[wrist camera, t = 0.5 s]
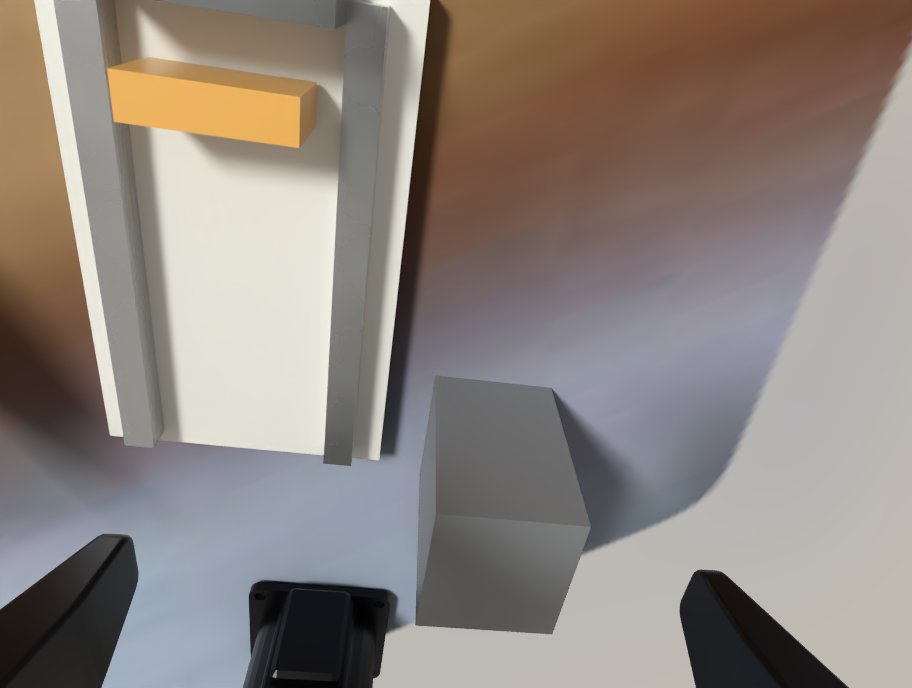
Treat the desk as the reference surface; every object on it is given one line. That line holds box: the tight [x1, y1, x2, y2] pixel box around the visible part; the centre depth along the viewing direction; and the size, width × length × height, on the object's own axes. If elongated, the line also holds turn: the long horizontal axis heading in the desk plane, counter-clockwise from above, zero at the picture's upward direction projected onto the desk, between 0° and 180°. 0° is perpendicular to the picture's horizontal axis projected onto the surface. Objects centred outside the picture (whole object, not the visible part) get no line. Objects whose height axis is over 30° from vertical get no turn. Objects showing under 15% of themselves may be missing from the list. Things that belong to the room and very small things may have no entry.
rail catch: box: [107, 57, 317, 148], centre depth 16 cm, size 1×4×2 cm, turn 81°
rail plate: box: [34, 0, 430, 466], centre depth 18 cm, size 16×10×4 cm, turn 171°
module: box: [416, 376, 591, 634], centre depth 22 cm, size 5×4×7 cm
